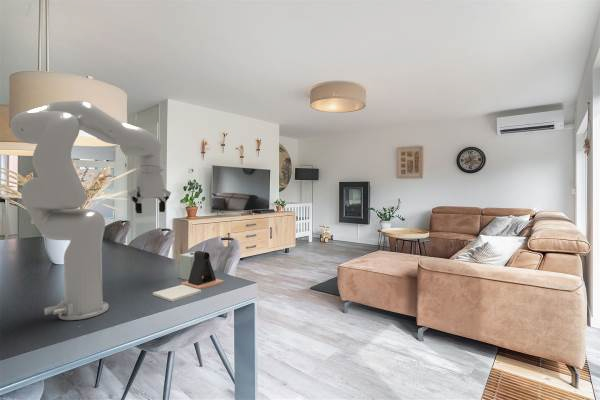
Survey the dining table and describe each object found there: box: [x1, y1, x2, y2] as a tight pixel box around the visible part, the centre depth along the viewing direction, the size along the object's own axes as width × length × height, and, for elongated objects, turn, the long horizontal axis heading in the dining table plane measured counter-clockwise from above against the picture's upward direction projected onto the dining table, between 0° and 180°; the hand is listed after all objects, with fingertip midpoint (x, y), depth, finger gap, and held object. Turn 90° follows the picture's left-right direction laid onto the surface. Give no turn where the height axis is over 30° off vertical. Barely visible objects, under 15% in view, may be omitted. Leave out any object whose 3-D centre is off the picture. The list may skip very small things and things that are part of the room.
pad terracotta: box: [179, 277, 225, 290], centre depth 126 cm, size 12×12×1 cm
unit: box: [178, 251, 203, 281], centre depth 135 cm, size 7×8×11 cm
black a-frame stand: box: [187, 250, 217, 285], centre depth 126 cm, size 9×6×12 cm, turn 143°
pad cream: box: [152, 284, 203, 302], centre depth 114 cm, size 12×12×1 cm
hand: (150, 212), depth 129 cm, fingers open, 9 cm apart
